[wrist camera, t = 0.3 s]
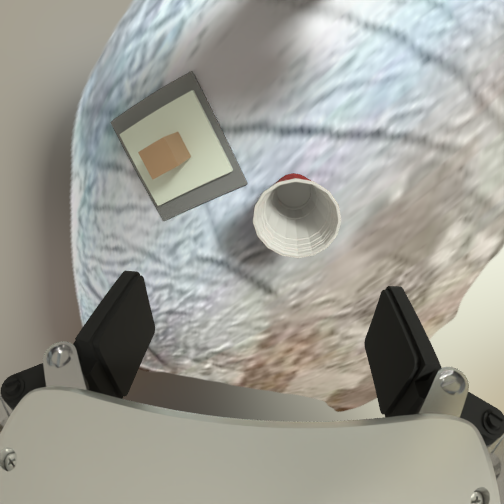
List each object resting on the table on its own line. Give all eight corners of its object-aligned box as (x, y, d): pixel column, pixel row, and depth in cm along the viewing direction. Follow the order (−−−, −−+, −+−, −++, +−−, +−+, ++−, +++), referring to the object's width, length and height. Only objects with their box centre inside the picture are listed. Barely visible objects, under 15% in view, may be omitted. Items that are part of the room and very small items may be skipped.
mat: (112, 121, 41) (110, 122, 40) (192, 71, 36) (191, 71, 36) (164, 219, 49) (163, 220, 49) (247, 183, 45) (247, 184, 44)
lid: (122, 133, 41) (99, 140, 35) (193, 90, 37) (178, 89, 31) (160, 204, 47) (143, 220, 41) (233, 169, 43) (225, 182, 37)
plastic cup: (244, 194, 46) (234, 224, 35) (290, 144, 41) (295, 159, 31) (294, 235, 49) (298, 275, 38) (340, 190, 44) (358, 220, 34)
